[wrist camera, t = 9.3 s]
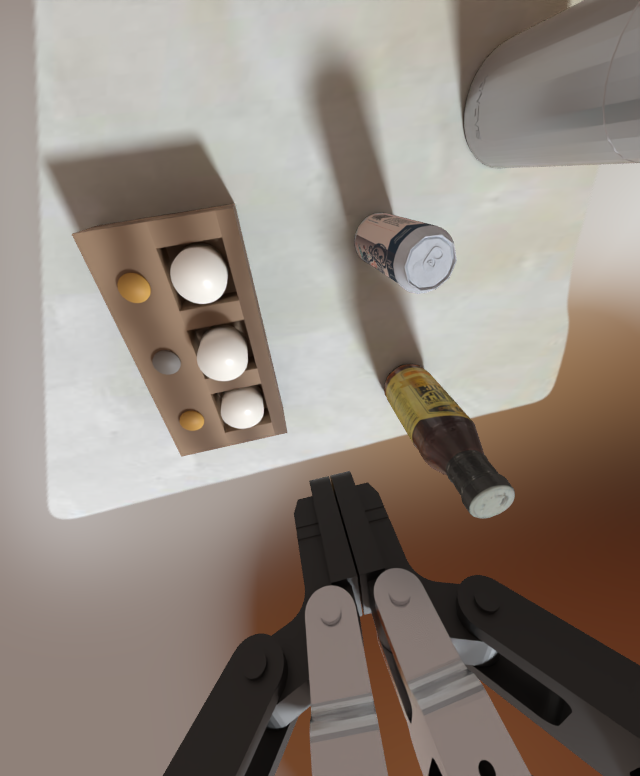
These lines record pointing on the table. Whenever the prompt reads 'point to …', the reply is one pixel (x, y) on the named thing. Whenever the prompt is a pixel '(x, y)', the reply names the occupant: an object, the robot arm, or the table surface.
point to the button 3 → (242, 406)
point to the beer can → (406, 251)
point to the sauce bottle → (447, 439)
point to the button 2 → (222, 353)
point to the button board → (183, 320)
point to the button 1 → (199, 273)
